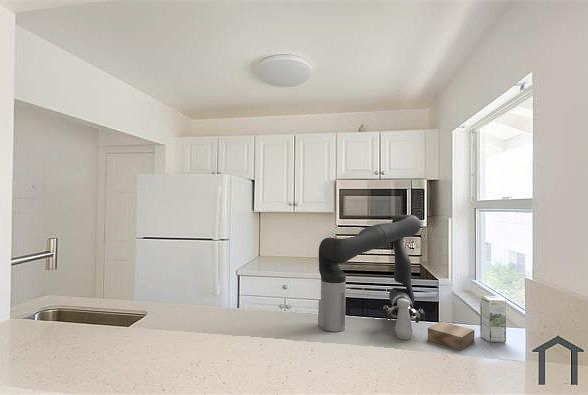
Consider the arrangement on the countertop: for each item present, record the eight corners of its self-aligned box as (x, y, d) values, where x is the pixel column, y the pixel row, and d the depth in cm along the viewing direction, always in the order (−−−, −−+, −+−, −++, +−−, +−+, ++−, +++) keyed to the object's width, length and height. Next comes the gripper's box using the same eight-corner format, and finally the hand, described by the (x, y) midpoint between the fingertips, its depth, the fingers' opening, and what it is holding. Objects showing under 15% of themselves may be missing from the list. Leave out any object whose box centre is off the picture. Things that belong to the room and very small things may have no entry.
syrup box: (496, 336, 114) (495, 295, 114) (506, 343, 108) (506, 299, 108) (480, 336, 114) (479, 294, 115) (489, 342, 108) (489, 299, 109)
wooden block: (427, 340, 109) (427, 328, 109) (441, 332, 116) (441, 321, 117) (462, 350, 101) (461, 337, 101) (474, 341, 108) (474, 329, 108)
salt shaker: (413, 341, 107) (413, 302, 108) (395, 339, 108) (396, 300, 109) (410, 335, 113) (410, 298, 114) (394, 333, 114) (394, 296, 115)
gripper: (383, 294, 127) (382, 305, 112) (422, 298, 123) (426, 309, 107) (383, 313, 127) (382, 327, 111) (422, 318, 122) (426, 332, 107)
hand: (403, 318), depth 109 cm, fingers open, 8 cm apart
